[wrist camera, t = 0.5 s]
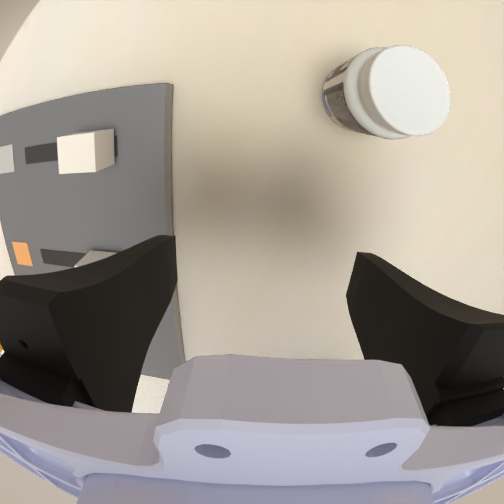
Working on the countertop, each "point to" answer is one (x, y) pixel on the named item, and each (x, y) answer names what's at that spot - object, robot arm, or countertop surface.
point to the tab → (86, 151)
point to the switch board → (91, 190)
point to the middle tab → (93, 257)
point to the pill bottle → (388, 93)
